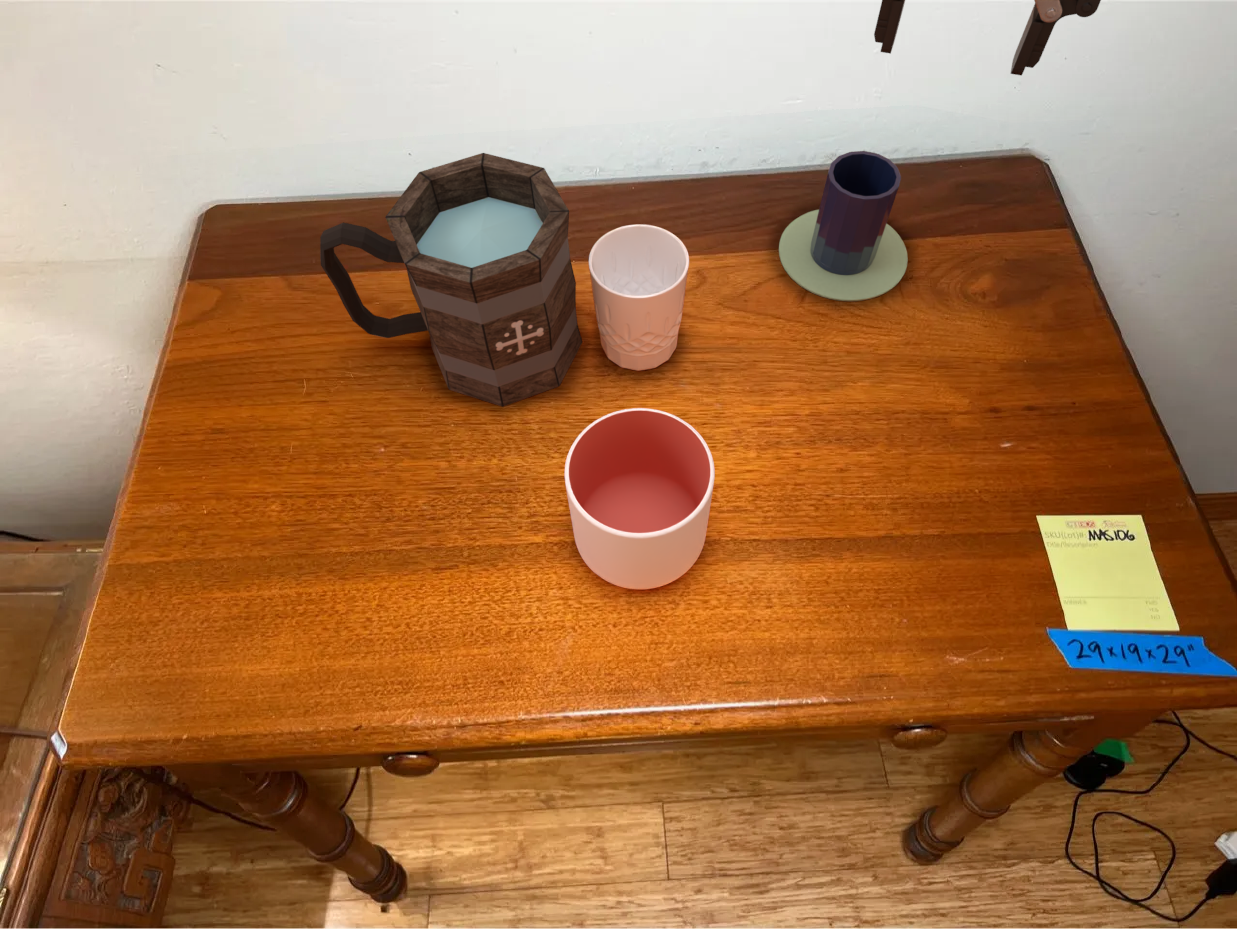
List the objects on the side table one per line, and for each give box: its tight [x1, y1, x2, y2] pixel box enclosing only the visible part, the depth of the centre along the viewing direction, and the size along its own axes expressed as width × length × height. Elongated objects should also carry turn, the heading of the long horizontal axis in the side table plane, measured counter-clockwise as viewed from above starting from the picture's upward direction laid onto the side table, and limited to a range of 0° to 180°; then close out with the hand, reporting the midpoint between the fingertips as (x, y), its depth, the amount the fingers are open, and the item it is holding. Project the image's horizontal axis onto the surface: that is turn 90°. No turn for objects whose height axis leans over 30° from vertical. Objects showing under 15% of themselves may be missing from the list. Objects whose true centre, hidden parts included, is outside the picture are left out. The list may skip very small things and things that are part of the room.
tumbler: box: [810, 150, 902, 275], centre depth 73 cm, size 6×6×9 cm
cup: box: [564, 407, 716, 590], centre depth 58 cm, size 10×10×10 cm
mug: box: [319, 152, 583, 408], centre depth 66 cm, size 20×14×15 cm
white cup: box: [588, 223, 690, 371], centre depth 68 cm, size 8×8×10 cm
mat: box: [778, 209, 909, 302], centre depth 77 cm, size 12×12×1 cm
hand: (951, 57), depth 55 cm, fingers open, 8 cm apart
